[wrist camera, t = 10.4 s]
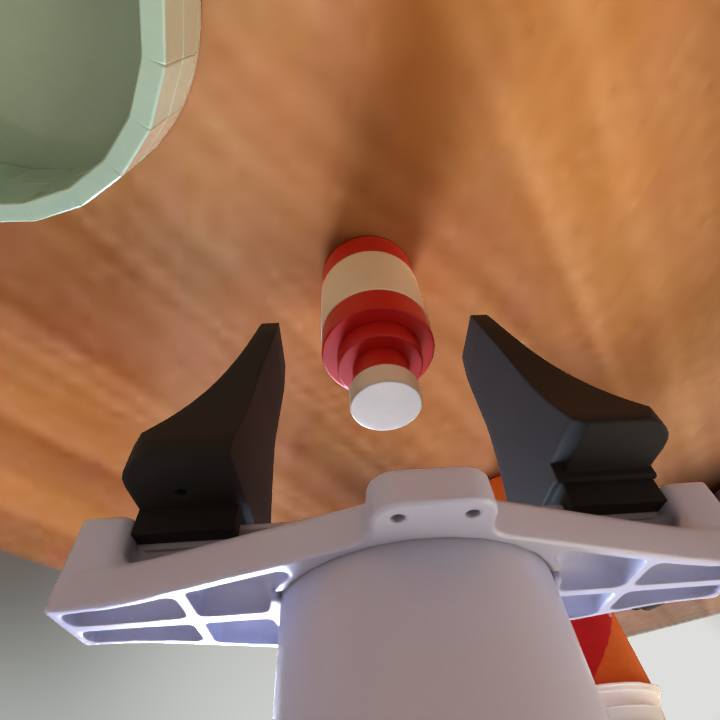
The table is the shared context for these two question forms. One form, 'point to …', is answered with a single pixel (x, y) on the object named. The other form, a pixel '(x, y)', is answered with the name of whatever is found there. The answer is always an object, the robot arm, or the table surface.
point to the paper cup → (611, 661)
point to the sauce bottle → (375, 331)
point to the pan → (86, 94)
